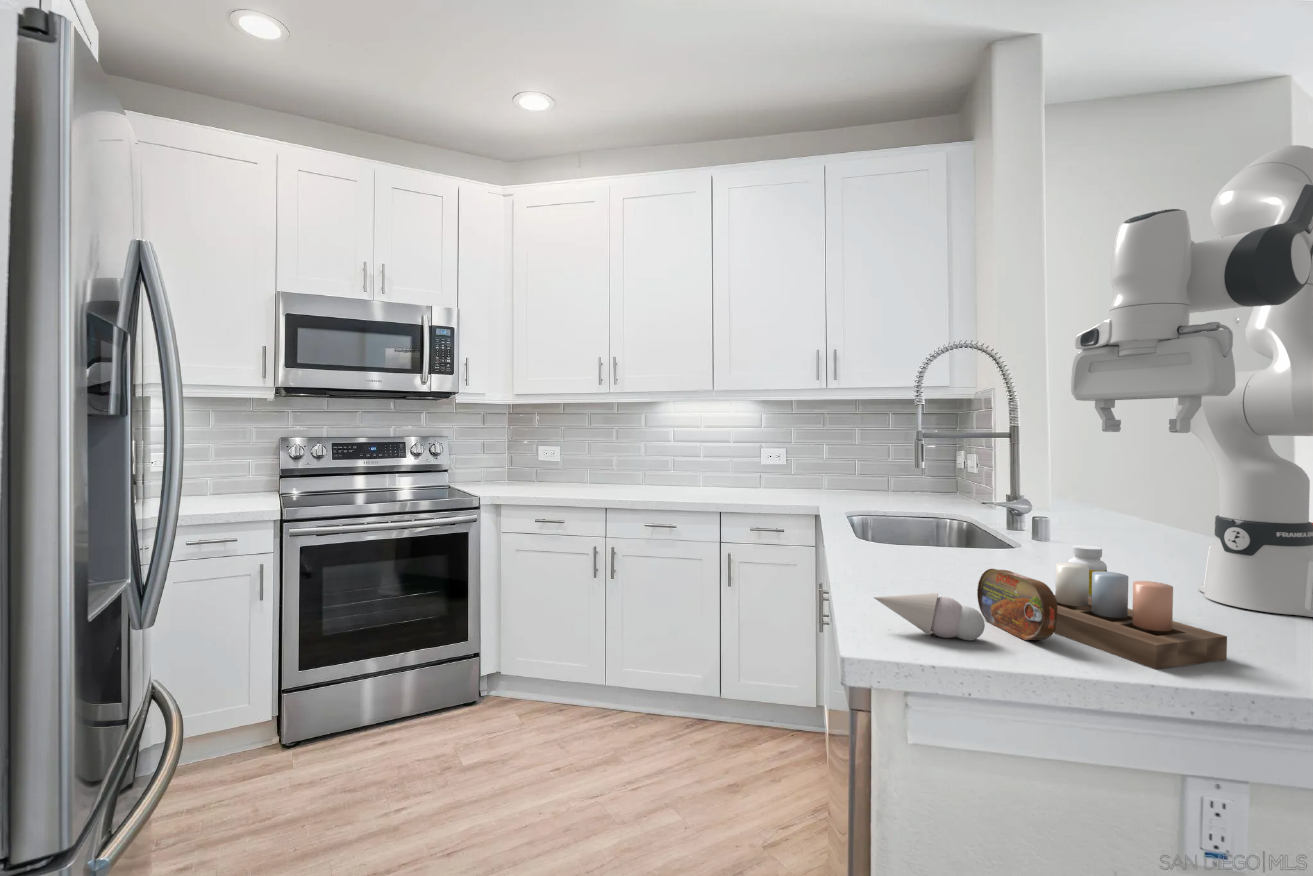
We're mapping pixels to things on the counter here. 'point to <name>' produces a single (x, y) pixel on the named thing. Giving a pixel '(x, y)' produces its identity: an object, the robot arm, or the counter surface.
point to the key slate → (1110, 594)
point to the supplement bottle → (1089, 560)
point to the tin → (1017, 604)
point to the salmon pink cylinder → (1152, 605)
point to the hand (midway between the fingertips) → (1143, 432)
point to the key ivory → (1072, 584)
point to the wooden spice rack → (1140, 638)
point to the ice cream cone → (937, 615)
